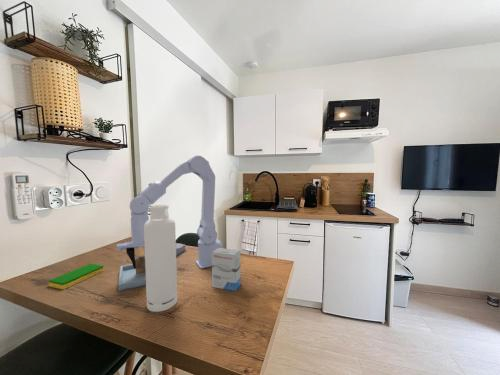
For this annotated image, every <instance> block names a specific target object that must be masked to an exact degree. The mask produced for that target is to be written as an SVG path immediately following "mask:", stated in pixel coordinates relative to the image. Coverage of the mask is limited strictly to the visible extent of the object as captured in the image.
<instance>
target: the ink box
mask: <svg viewBox="0 0 500 375" xmlns="http://www.w3.org/2000/svg"><path fill="white" fill-rule="evenodd" d="M211 253H212V266H211V286H212V288H214V289H215V288H216V289H220V290H225V291H226V290H227V291H232V292H237V290H238V289H239V288H240V286H241V285H242V281H241V278H242V277H241V272H242V271H241V265H242V263H241V250H239V249H231V248H224V247H222V248H217V249H216V250H214V251H213V252H211Z"/></svg>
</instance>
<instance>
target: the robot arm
mask: <svg viewBox="0 0 500 375" xmlns="http://www.w3.org/2000/svg"><path fill="white" fill-rule="evenodd" d="M191 173H193V174H195V175H196V176H197V177H199V179H200V180H202V191H201V192H202V193H201V194H202V195H201V210H200V211H201V212H200V213H201V215H200V220H199V226H198V228H197V230H196V231H197V232H196V234H197V236H198V238H199V239H198V241H197V246H198V247H197V248H198V249H197V253H198V259H196V260H195V263H196V264H197V266H198V267H199V269H205V268H210V267H211V268H212V253H211V252H213V251H214V250H216V249H217V248H223V244H222V242H221V240H217V239H218V233H217V230H216V224H215V219H214V217H215V198H216V197H215V192H216V175H215V173H214V171H213V168H212V167H211V165H210V161H208V160H207V158H205V157H204V156H202V155H194V156H193V157H190V158H188V159H187V160H185V161H184V162H182V163H181V164H179V165H177V166H176V168H174V169H173V170H172V171H171V172H170V173H168V174H167V175H166V176H165V177H164V178H163V179H162V180H160V181H153V182H149V183H148V186H147V187H146V188H145V189H143V191H141V192H138V193H137V195H138V196H135V197H133V198H132V199H131V201H130V203H129V209H130V210H131V211H130V228H131V230H130V232H131V233H130V234H131V241H127V242H123V243H118V244H116V251H117V252H121V251H125V252H126V254H127V257H129V259H130V261H131V264H133V267H134V269H136V264H135V257H136V255H135V254H136V253H135V252H136V251H135V250H136V249H137V248H138V249H139V248H145V244H144V224H145V223H146V222H147V221H148V220H150V216H149V215H148V214H149V213H148V211H149V208H150V205H151V206H152V205H154V204H155V203H156V202H157V201H158V200H159V199H161V198H162V197H163V196H164V195H166V193H167V188H168V187H169V186H171V185H172V184H173V183H174V182H175V181H177V180H178V179H179V178H181V177H182V176H183V175H187V174H191Z"/></svg>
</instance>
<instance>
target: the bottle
mask: <svg viewBox="0 0 500 375" xmlns="http://www.w3.org/2000/svg"><path fill="white" fill-rule="evenodd" d="M149 210H150V212H149V213H150V216H149V220H148V221H147V222H146V223H145V224H144V244H145V247H144V255H145V270H146V285H145V291H146V292H145V294H146V295H145V296H146V308H147V310H149V311H150V312H153V313H158V312H164V311H166V310H168V309H171V308H173V307H174V306H175V305H176V303H178V278H177V277H178V274H177V273H178V271H177V256H176V243H177V242H176V241H177V240H176V222H175V220H173V219H172V218H171V217H170V216H169V205H168V204H155V205H154V204H153V205H151V206H150V205H149Z"/></svg>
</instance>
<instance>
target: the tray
mask: <svg viewBox="0 0 500 375" xmlns="http://www.w3.org/2000/svg"><path fill="white" fill-rule="evenodd" d="M118 276H119V277H118V282H117V290H118V292H122V291H127V290H131V289H135V288H139V287H144V286H146V273H141V274H137V275H136V269H134V267H133V264H132V263H131V264H125V265H121V266H120V267H119V275H118Z"/></svg>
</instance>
